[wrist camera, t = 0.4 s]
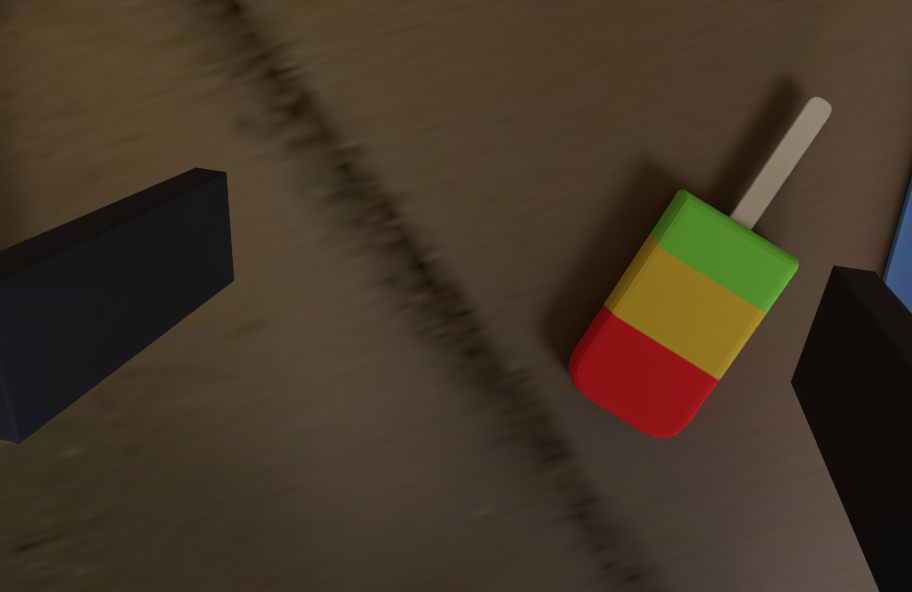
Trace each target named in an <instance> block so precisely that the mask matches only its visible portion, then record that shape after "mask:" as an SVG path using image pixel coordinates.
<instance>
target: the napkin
mask: <svg viewBox="0 0 912 592" xmlns="http://www.w3.org/2000/svg"><path fill="white" fill-rule="evenodd" d="M883 281H884V282H885V283H886V285H887V286H888V287H889V288H890V289H891V290H892V291H893V293H894V294H895V295H896V296H897V297H898V298H899V299H900V300H901V302H902V303H903V304H904V305H905V306H906V307H907V308H908V310H909V311H910V312H911V313H912V177H911V180H910V184H909V187H908V191H907V195H906V198H905V202H904V205H903V209H902V212H901V216H900V219H899V223H898V226H897V230H896V233H895V237H894V241H893V244H892V248H891V251H890V255H889V258H888V262H887V265H886V269H885V272H884V276H883Z"/></svg>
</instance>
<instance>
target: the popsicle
mask: <svg viewBox="0 0 912 592" xmlns="http://www.w3.org/2000/svg"><path fill="white" fill-rule="evenodd" d="M831 110H832V109H831V105H830V104H829V103H828V102H827V101H825V100H824V99H821V98H818V97H816V98H812V99H810V100H809V101H807V103H806V104H805V105H804V107H803V108H802V110H801V111H800V113H799V114H798V115H797V117H796V118H795V120H794V121H793V123H792V124H791V126H790V127H789V129H788V130H787V132H786V133H785V135H784V136H783V138H782V139H781V141H780V142H779V144H778V145H777V146H776V148H775V149H774V151H773V152H772V154H771V155H770V157H769V158H768V160H767V161H766V163H765V164H764V166H763V167H762V169H761V170H760V172H759V173H758V175H757V176H756V178H755V179H754V180H753V182H752V183H751V185H750V186H749V188H748V189H747V191H746V192H745V194H744V195H743V197H742V198H741V200H740V201H739V203H738V204H737V206H736V207H735V209H734V210H733V212H732V213H731V214H730V216H729V217H728V216H726V215H725V214H723V213H722V212H720V211H718V210H717V209H715V208H713V207H712V206H710V205H708V204H707V203H705V202H704V201H702V200H700V199H699V198H697V197H695V196H694V195H692V194H690V193H689V192H687V191H686V190H683V189H682V190H679V191H678V192H677V194H676V195H675V197H674V198H673V200H672V201H671V203H670V205H669V206H668V208H667V209H666V211H665V212H664V214H663V215H662V217H661V218H660V220H659V221H658V223H657V224H656V226H655V227H654V229H653V230H652V232H651V233H650V235H649V236H648V238H647V239H646V241H645V242H644V244H643V245H642V247H641V249H640V250H639V252H638V253H637V255H636V256H635V258H634V259H633V261H632V262H631V264H630V265H629V267H628V268H627V270H626V271H625V273H624V274H623V276H622V277H621V279H620V280H619V282H618V283H617V285H616V286H615V288H614V289H613V291H612V292H611V294H610V296H609V297H608V299H607V300H606V302H605V303H604V305H603V306H602V308H601V309H600V311H599V312H598V314H597V315H596V317H595V318H594V320H593V321H592V323H591V324H590V326H589V327H588V329H587V330H586V332H585V333H584V335H583V336H582V338H581V340H580V341H579V343H578V344H577V346H576V348H575V349H574V351H573V353H572V355H571V358H570V364H569V372H570V376H571V380H572V382H573V384H574V385H575V387H576V388H577V389H578V391H579V392H581V393H582V394H583V395H584V396H586V397H587V398H588V399H589V400H591V401H593V402H594V403H596V404H597V405H599V406H601V407H602V408H604V409H605V410H607V411H609V412H610V413H612V414H613V415H615V416H617V417H618V418H620V419H621V420H623V421H624V422H626V423H628V424H629V425H631V426H632V427H634V428H636V429H637V430H639V431H641V432H643V433H645V434H647V435H649V436H651V437H656V438H662V439H663V438H668V437H673V436H674V435H676V434H678V433H679V432H681V431H682V430H683V429H684V428H685V427H686V426H687V425H688V424H689V422H690V421H691V420H692V419H693V417H694V416H695V414H696V413H697V411H698V410H699V409H700V407H701V406H702V404H703V403H704V401H705V400H706V399H707V397H708V396H709V394H710V393H711V392H712V390H713V389H714V387H715V386H716V384H717V383H718V382H719V380H720V379H721V377H722V376H723V374H724V373H725V372H726V370H727V369H728V367H729V366H730V365H731V363H732V362H733V360H734V359H735V357H736V356H737V355H738V353H739V352H740V350H741V349H742V347H743V346H744V345H745V343H746V342H747V340H748V339H749V338H750V336H751V335H752V333H753V332H754V330H755V329H756V328H757V326H758V325H759V323H760V322H761V320H762V319H763V318H764V316H765V315H766V313H767V312H768V311H769V309H770V308H771V306H772V305H773V303H774V302H775V301H776V299H777V298H778V296H779V295H780V293H781V292H782V291H783V289H784V288H785V286H786V285H787V284H788V282H789V281H790V279H791V278H792V276H793V275H794V274H795V272H796V271H797V269H798V266H799V263H798V261H797V259H796V258H795V257H793V256H792V255H790V254H789V253H787V252H785V251H784V250H782V249H780V248H779V247H777V246H775V245H774V244H772V243H771V242H769V241H767V240H766V239H764V238H762V237H761V236H759V235H758V234H756V233H754V232H753V231H751V229H752V228H753V226H754V225H755V224H756V222H757V221H758V219H759V218H760V216H761V215H762V213H763V212H764V210H765V209H766V208H767V206H768V205H769V203H770V202H771V200H772V199H773V197H774V196H775V194H776V193H777V191H778V190H779V189H780V187H781V186H782V184H783V183H784V181H785V180H786V178H787V177H788V175H789V174H790V172H791V171H792V170H793V168H794V167H795V165H796V164H797V162H798V161H799V159H800V158H801V156H802V155H803V153H804V152H805V151H806V149H807V148H808V146H809V145H810V143H811V142H812V140H813V139H814V137H815V136H816V134H817V133H818V132H819V130H820V129H821V127H822V126H823V124H824V123H825V121H826V120H827V118H828V117H829V115H830V113H831Z"/></svg>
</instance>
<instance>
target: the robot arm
mask: <svg viewBox="0 0 912 592" xmlns="http://www.w3.org/2000/svg"><path fill="white" fill-rule="evenodd" d="M233 281H234V273H233V259H232V245H231V231H230V217H229V203H228V189H227V175H226V172H222V171H215V170H209V169H202V168H194V169H192V170H189V171H187V172H185V173H182V174H180V175H178V176H175V177H173V178H171V179H168V180H166V181H164V182H161V183H159V184H157V185H154V186H152V187H150V188H147V189H145V190H142V191H140V192H138V193H135V194H133V195H131V196H128V197H126V198H124V199H121V200H119V201H117V202H114V203H112V204H110V205H107V206H105V207H103V208H100V209H98V210H96V211H93V212H91V213H89V214H86V215H84V216H82V217H79V218H77V219H75V220H72V221H70V222H68V223H65V224H63V225H61V226H58V227H56V228H54V229H51V230H49V231H47V232H44V233H42V234H40V235H37V236H35V237H33V238H30V239H28V240H26V241H23V242H21V243H18V244H16V245H14V246H11V247H9V248H7V249H4V250H2V251H0V439H1V440H5V441H10V442H14V443H18V444H19V443H21V442H22V441H23V440H25V439H26V438H27V437H29V436H30V435H31V434H33V433H34V432H35V431H37V430H38V429H39V428H40V427H42V426H43V425H44V424H46V423H47V422H48V421H50V420H51V419H52V418H54V417H55V416H56V415H58V414H59V413H60V412H62V411H63V410H64V409H65V408H67V407H68V406H69V405H71V404H72V403H73V402H75V401H76V400H77V399H79V398H80V397H81V396H83V395H84V394H85V393H87V392H88V391H89V390H91V389H92V388H93V387H94V386H96V385H97V384H98V383H100V382H101V381H102V380H104V379H105V378H106V377H108V376H109V375H110V374H112V373H113V372H114V371H116V370H117V369H118V368H119V367H121V366H122V365H123V364H125V363H126V362H127V361H129V360H130V359H131V358H133V357H134V356H135V355H137V354H138V353H139V352H141V351H142V350H143V349H144V348H146V347H147V346H148V345H150V344H151V343H152V342H154V341H155V340H156V339H158V338H159V337H160V336H162V335H163V334H164V333H166V332H167V331H168V330H170V329H171V328H172V327H173V326H175V325H176V324H177V323H179V322H180V321H181V320H183V319H184V318H185V317H187V316H188V315H189V314H191V313H192V312H193V311H195V310H196V309H197V308H198V307H200V306H201V305H202V304H204V303H205V302H206V301H208V300H209V299H210V298H212V297H213V296H214V295H216V294H217V293H218V292H220V291H221V290H222V289H224V288H225V287H226V286H227V285H229V284H230V283H231V282H233ZM791 384H792V386H793V388H794V391H795V393H796V395H797V398H798V400H799V402H800V405H801V407H802V410H803V412H804V414H805V417H806V419H807V421H808V424H809V426H810V428H811V431H812V433H813V436H814V438H815V440H816V443H817V445H818V447H819V450H820V452H821V454H822V457H823V459H824V462H825V464H826V466H827V469H828V471H829V473H830V476H831V478H832V480H833V483H834V485H835V488H836V490H837V492H838V495H839V497H840V499H841V502H842V504H843V506H844V509H845V511H846V514H847V516H848V518H849V521H850V523H851V525H852V528H853V530H854V532H855V535H856V537H857V540H858V542H859V544H860V547H861V549H862V551H863V554H864V556H865V558H866V561H867V563H868V566H869V568H870V570H871V573H872V575H873V577H874V580H875V582H876V585H877V587H878V589H879V592H912V313H911V312H910V311H909V310H908V308H907V307H906V306H905V305H904V304H903V303H902V302H901V300H900V299H899V298H898V297H897V296H896V295H895V294H894V293H893V291H892V290H891V289H890V288H889V287H888V286H887V285H886V283H885V282H884V281H883V280H882V279H881V278H880V277H879V275H878V274H877V273H876V272H873V271H866V270H860V269H853V268H847V267H840V266H833V269H832V271H831V274H830V277H829V279H828V282H827V285H826V288H825V290H824V293H823V296H822V299H821V301H820V304H819V307H818V310H817V312H816V315H815V318H814V320H813V323H812V326H811V329H810V331H809V334H808V337H807V340H806V342H805V345H804V348H803V351H802V353H801V356H800V359H799V361H798V364H797V367H796V370H795V372H794V375H793V378H792V381H791Z"/></svg>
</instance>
